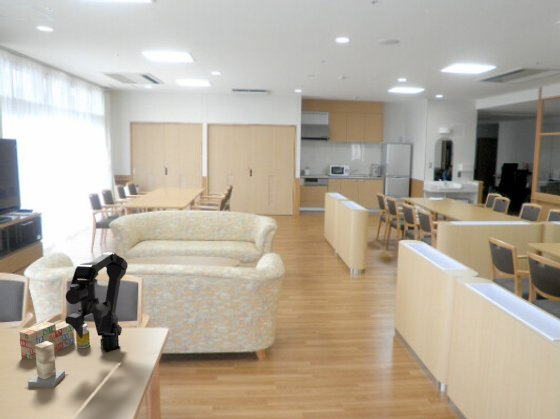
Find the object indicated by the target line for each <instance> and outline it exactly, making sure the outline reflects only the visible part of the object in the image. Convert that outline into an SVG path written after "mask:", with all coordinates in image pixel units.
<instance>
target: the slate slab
mask: <svg viewBox="0 0 560 419" xmlns="http://www.w3.org/2000/svg"><path fill="white" fill-rule="evenodd" d="M65 374H66V371H65V370H64V369H63V370H59V369H58V370H57V369H56V375H54V376H51V377H49V378H47V379H42V378H40V377H38V375H37V373H36V374H35V375H34V376H33V377H32V378H31V379H29V381H27V385H28V387H47V388H53V387H54V386H55V385H56V384H57V383H58V382H59V381H60V380H61V379H62V378H63V377H64V376H65Z"/></svg>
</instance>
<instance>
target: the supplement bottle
mask: <svg viewBox="0 0 560 419" xmlns="http://www.w3.org/2000/svg"><path fill="white" fill-rule="evenodd" d="M75 339H76V347H77V348H78V349H86V348H88V347H89V346H90V345H91V342H90V341H91V340H90V330H89V328H88V324H87V323H85V324H84V325H83V338H80V337H79V336H78V334H77V333H76V332H75Z"/></svg>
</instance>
